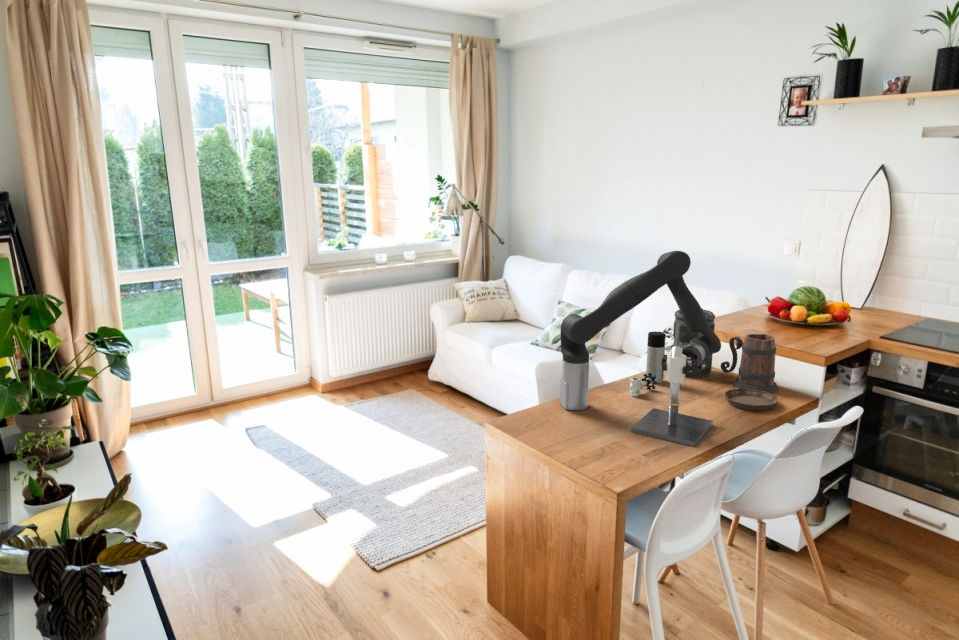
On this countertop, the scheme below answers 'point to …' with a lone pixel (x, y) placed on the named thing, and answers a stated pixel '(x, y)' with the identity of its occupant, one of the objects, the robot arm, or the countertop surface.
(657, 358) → the spray can
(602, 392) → the countertop surface
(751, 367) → the tankard
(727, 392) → the plant saucer
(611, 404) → the countertop surface
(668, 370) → the sleeve
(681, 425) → the pipe stand
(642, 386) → the valve
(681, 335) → the canister
